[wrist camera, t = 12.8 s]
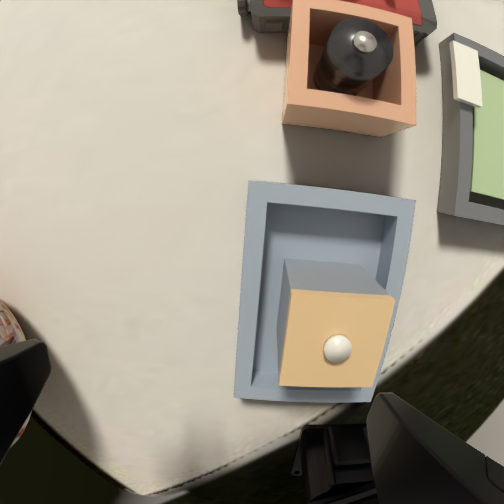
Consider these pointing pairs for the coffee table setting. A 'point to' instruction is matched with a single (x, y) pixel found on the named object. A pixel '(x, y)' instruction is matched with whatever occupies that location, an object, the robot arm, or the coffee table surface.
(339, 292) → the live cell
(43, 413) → the coffee table surface
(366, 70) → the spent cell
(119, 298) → the coffee table surface
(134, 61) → the coffee table surface
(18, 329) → the ornament
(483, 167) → the light green square plate
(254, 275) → the tray
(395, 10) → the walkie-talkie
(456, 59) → the checker frame
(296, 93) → the cup
